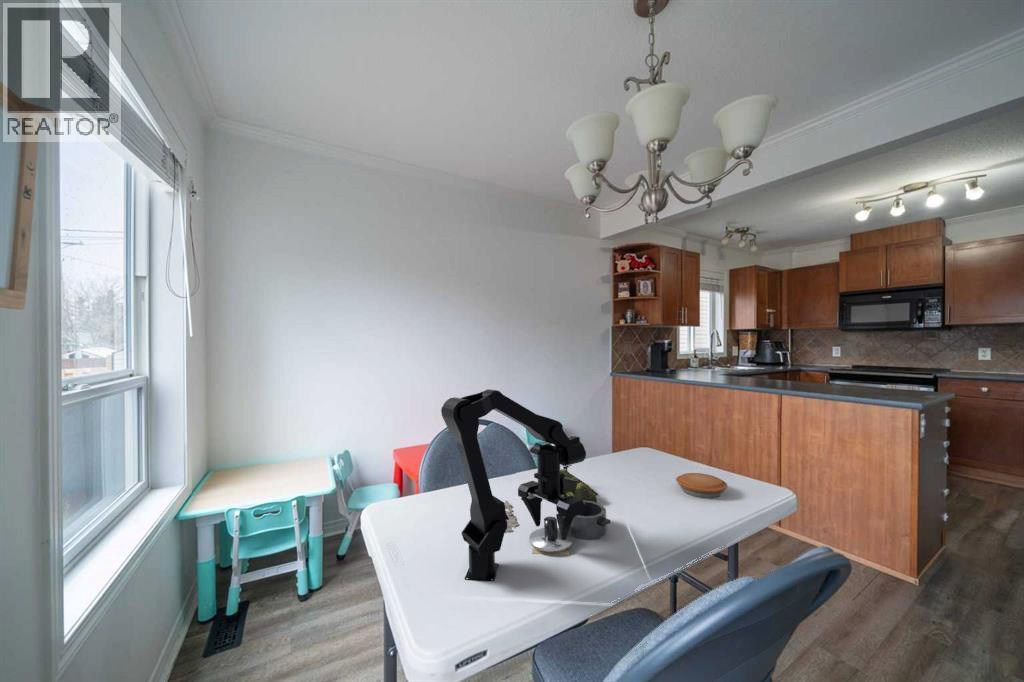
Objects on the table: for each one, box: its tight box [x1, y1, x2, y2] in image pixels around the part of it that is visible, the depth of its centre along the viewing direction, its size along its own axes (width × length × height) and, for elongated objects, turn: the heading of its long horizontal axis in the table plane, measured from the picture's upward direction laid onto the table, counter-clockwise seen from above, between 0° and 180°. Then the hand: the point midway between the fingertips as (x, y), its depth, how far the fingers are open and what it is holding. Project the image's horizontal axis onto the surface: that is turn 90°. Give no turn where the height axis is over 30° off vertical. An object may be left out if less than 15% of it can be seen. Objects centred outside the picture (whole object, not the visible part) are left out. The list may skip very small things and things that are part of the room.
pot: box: [569, 500, 611, 541], centre depth 99 cm, size 14×11×6 cm
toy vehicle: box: [560, 464, 599, 503], centre depth 123 cm, size 9×20×10 cm, turn 20°
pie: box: [675, 472, 728, 500], centre depth 124 cm, size 16×16×5 cm
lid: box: [528, 516, 574, 552], centre depth 91 cm, size 11×11×6 cm
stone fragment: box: [504, 500, 519, 534], centre depth 109 cm, size 25×3×10 cm
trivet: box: [531, 546, 571, 556], centre depth 91 cm, size 9×9×1 cm
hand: (550, 532), depth 91 cm, fingers open, 9 cm apart
